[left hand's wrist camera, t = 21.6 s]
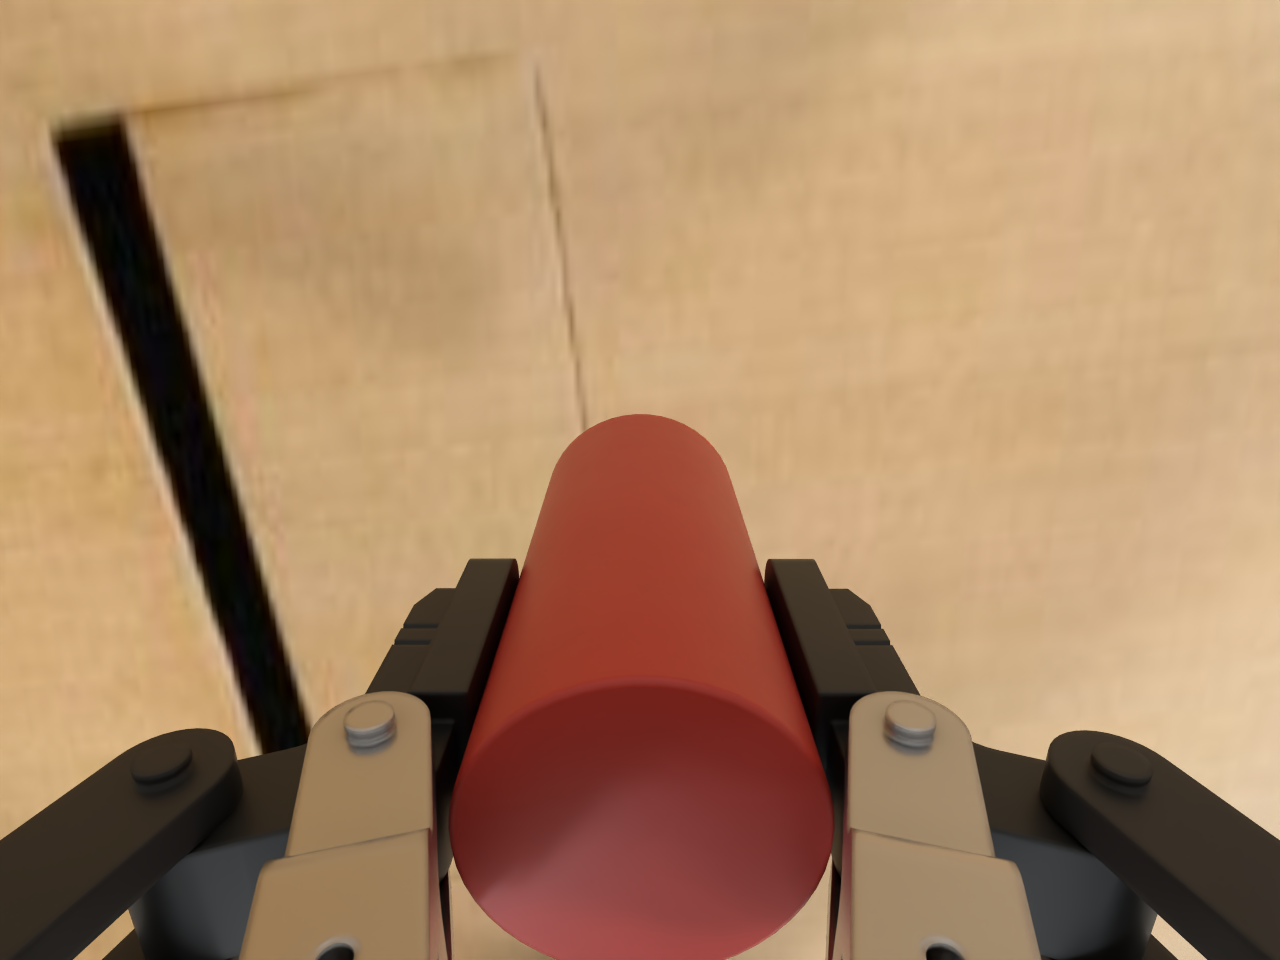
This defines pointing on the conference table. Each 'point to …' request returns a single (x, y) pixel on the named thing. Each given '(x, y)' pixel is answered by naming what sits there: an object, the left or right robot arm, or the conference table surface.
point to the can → (641, 721)
